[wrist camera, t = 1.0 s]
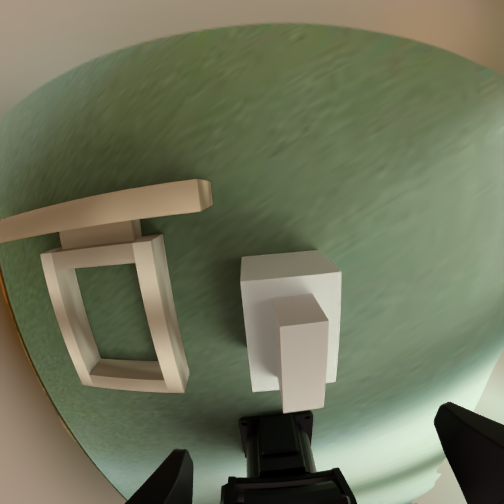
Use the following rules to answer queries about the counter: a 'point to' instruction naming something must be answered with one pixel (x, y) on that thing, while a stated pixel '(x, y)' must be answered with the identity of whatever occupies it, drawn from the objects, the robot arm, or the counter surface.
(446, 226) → the counter surface
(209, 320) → the counter surface
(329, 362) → the grey stepped block
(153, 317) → the stand
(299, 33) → the counter surface
